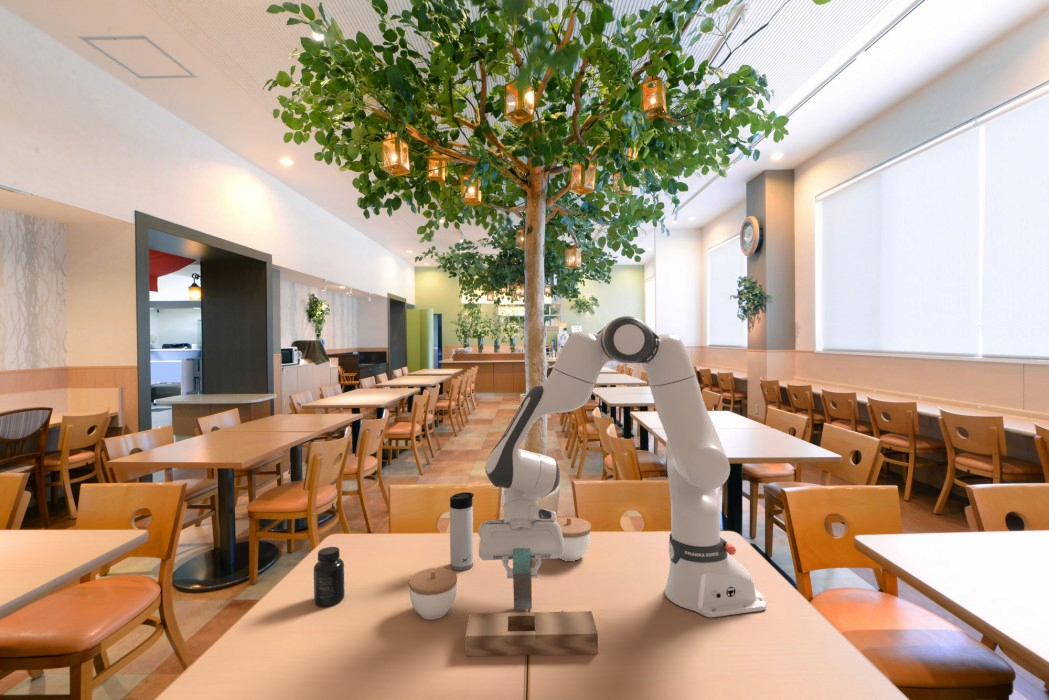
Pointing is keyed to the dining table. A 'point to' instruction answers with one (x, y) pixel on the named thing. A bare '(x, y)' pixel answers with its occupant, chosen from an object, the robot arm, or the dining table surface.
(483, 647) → the wooden peg hole block
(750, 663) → the dining table surface
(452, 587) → the lidded jar
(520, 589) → the teal square peg
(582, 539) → the lidded bowl
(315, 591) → the supplement bottle
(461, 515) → the travel mug
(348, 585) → the dining table surface
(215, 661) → the dining table surface
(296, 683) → the dining table surface
